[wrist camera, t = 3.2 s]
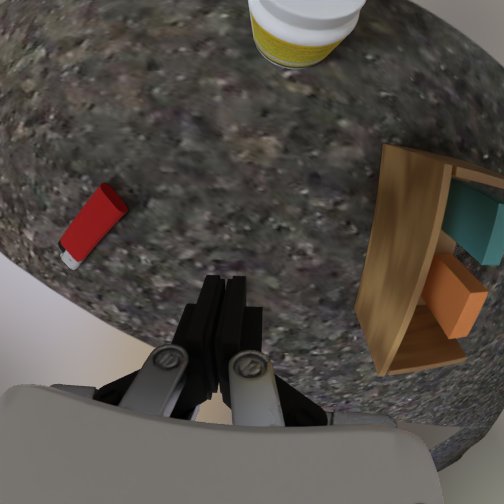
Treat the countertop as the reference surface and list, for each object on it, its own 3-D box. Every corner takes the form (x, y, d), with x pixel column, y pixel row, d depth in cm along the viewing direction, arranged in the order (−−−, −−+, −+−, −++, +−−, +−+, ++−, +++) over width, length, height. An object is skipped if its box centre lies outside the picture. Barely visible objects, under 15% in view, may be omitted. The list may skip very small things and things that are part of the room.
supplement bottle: (334, 71, 14) (388, 38, 6) (256, 71, 14) (247, 31, 7) (326, 7, 12) (365, -57, 4) (250, 7, 12) (238, -64, 5)
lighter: (122, 215, 17) (73, 273, 20) (130, 209, 19) (80, 265, 21) (97, 185, 17) (52, 248, 19) (106, 181, 18) (60, 242, 20)
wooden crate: (382, 142, 16) (445, 163, 9) (469, 161, 15) (535, 190, 9) (353, 307, 22) (378, 376, 15) (431, 304, 21) (466, 361, 15)
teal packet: (450, 178, 16) (499, 203, 11) (469, 182, 15) (516, 207, 11) (440, 229, 17) (481, 265, 12) (458, 231, 17) (499, 265, 12)
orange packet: (434, 253, 18) (470, 292, 13) (452, 253, 18) (488, 291, 13) (420, 295, 20) (448, 339, 15) (437, 294, 20) (467, 336, 15)
